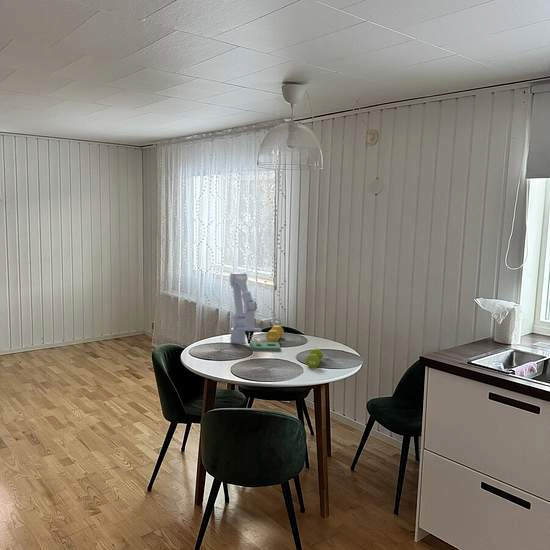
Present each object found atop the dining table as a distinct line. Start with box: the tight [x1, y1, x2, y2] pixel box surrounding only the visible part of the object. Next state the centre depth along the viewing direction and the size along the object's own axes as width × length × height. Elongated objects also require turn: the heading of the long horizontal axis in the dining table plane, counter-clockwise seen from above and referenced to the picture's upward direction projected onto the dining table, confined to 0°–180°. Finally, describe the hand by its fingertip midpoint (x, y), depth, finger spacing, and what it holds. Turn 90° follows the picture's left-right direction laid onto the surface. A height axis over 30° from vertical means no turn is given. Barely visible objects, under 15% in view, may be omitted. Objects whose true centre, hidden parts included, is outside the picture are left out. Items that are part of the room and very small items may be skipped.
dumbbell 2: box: [265, 325, 284, 342], centre depth 332 cm, size 19×9×8 cm, turn 169°
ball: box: [255, 338, 262, 345], centre depth 310 cm, size 4×4×4 cm
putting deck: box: [249, 341, 282, 352], centre depth 311 cm, size 18×14×2 cm
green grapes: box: [304, 348, 324, 369], centre depth 280 cm, size 16×8×7 cm, turn 166°
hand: (248, 343), depth 309 cm, fingers closed
